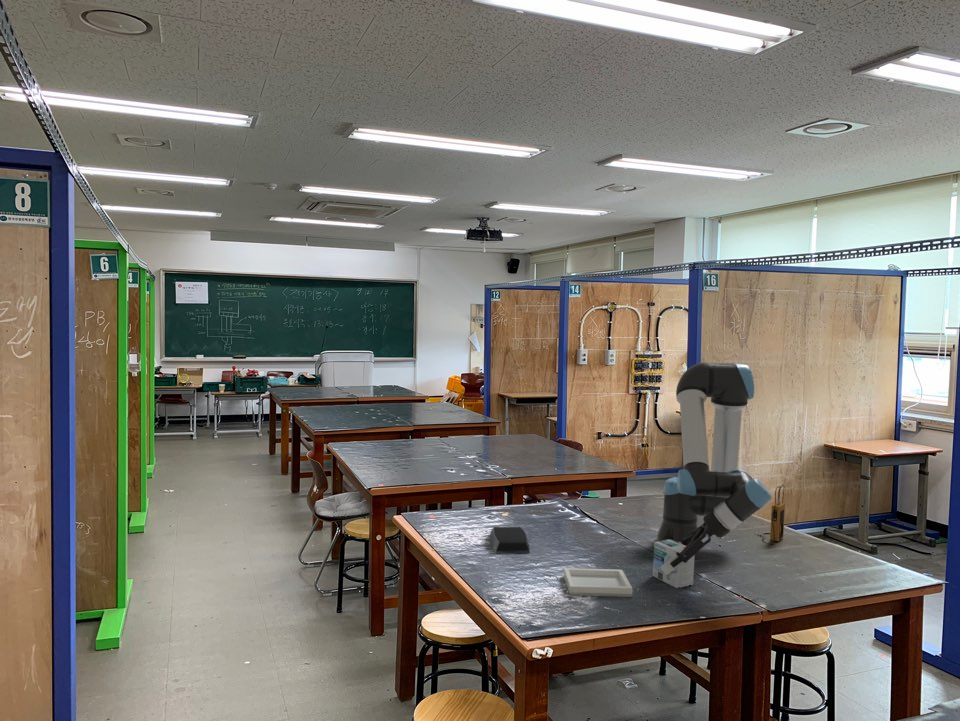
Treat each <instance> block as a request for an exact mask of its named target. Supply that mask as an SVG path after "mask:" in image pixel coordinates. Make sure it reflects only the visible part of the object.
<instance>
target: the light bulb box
mask: <svg viewBox="0 0 960 721" xmlns="http://www.w3.org/2000/svg"><path fill="white" fill-rule="evenodd" d="M685 547H686V546H685V545H682V544H680V543H678V542H675V541H673V540H671V539H669V540H664V541H658V542H657V541H654V545H653V562H652V563H653V564H652V577H654V578H656V579H658V580H660V581H661V582H664V583H666V584H667V585H670V586H672V587H673V588H675V589H679V587H680V588H685V586H686V587H690V586H689V585H691V586H694V577H695V576H694V575H695V574H694V573H695V572H694V571H695V555H696V554H695V555H694V556H693V557H692V558H690V559H689V560H688V561H687V562H686V563H684V562H683V563H682V564H681V565H679V566H678V567H677V568H675V569H674V570H673V571H671V572H670V573H669V574H668V575H666V574H665V573H664V572H663V571H662V570H661V569H660V567H661V566H662V565H663V564H665V563H666V562H667V561H669V560H670V559H671V558H672V557H674V556H675V555H676V552H678V553H680V552H681V551H682V550H683V549H684V548H685ZM684 556H685V555H684Z"/></svg>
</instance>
